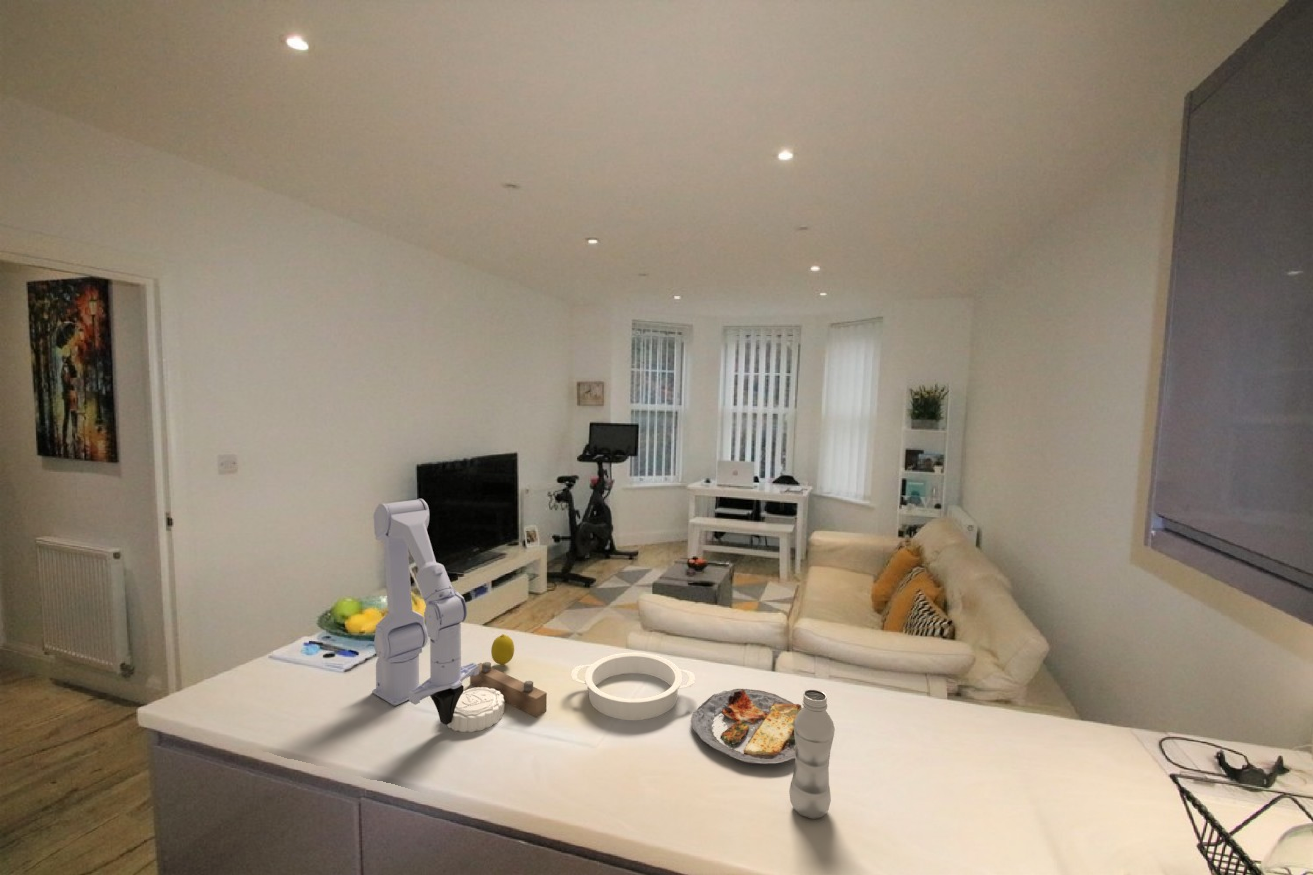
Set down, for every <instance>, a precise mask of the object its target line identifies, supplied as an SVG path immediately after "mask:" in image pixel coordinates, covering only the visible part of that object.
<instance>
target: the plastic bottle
mask: <svg viewBox="0 0 1313 875" xmlns="http://www.w3.org/2000/svg"><path fill="white" fill-rule="evenodd" d="M827 701H828V697H827V695H826V693H824V692H823V691H822V690H817V689H812V688H811V689H807V690H806V689H805V691H804V692H803V698H802V709H801V710H800V711H799V712H798V714H797V715H796V717H795V720H794V736H795V758H794V767H793V773H792V778H791V781H790V785H789V786H790V787H789V791H788V792H789V801H790V803H791V805H792V807H793V809H794V810H795V812H796V813H797V814H799V815H800V816H802V817H805V818H808V819H811V820H813V819H815V820H816V819H820V818H822V817H824V816H825V815H826V814H827V813H828V812H829V809H830V805H831V803H832V802H831V801H832V800H831V799H832V798H831V797H832V796H831V787H830V776H829V769H830V768H829V767H830V760H831V759H830V757H831V750H832V746H833V741H834V737H835V731H836V730H835V726H834V721H833V720H832V718H831V716H830V714H829V713H828V712H827V709H828V702H827Z"/></svg>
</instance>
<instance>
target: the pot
mask: <svg viewBox="0 0 1313 875" xmlns="http://www.w3.org/2000/svg"><path fill="white" fill-rule="evenodd" d="M583 668H587V669H586V671H585V674H584V680H585V681H584V680H581V679H579V678H578V672H579V671H580V670H581V669H583ZM682 673H685V674H686V675H687V676H688V681H687V682H686V684H684V685H682V682H683V674H682ZM624 674H642V675H647V676H653V677H655V678H658V679H661V680H662V681H664V682H666V683H667V684H668V685H669V686H670V687H669V688H667V690H665V691H664V692H661V693H659V694H657V695H652V696H649V697H642V698H641V697H640V698H627V697H619V696H615V695H612V694H608V693H606V692H604V691H602V689H599V688H598V687H597V685H598V684H599V683H601V682H602V681H604V680H607V679H608V678H612V677H615V676H619V675H624ZM570 678H571V680H572V681H575V682H577V683H579V684H583V685H584V684H585V685H587V690H588V698H589V702H590V703H591V705H592V707H593V708H595V709H596V711H597V712H599V713H601V714H603V715H605V716H607V717H610V718H613V719H614V718H615V719H618V720H626V721H641V720H649V719H652V718H656V717H659V716H662V715H665V713H667V712H669V711H670V710H671V709H672V708H673V707H674V706H675V704H676V702H677V701H678V700H677V699H678V690H679V689H685V688H689V687H692V685H693V684H695V681H696V677H695V674H694V673H693V672H692V671H689V670H686V669H682V668H681V669H680V668H679V667H678V666H677V665H676V664H675V663H674V662H672V661H671V660H669V659H667V658H665V657H662V656H659V655H656V654H651V653H647V652H646V653H645V652H621V653H615V654H611V655H608V656H604V657H602V658H600V659H598V660H596V661H595V662H593V663H592V664H582V665H577V666H576V667H574V668H573V669H572V671H571V673H570Z"/></svg>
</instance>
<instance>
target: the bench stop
mask: <svg viewBox="0 0 1313 875" xmlns="http://www.w3.org/2000/svg"><path fill="white" fill-rule="evenodd" d="M476 664H477V663H476ZM477 665H479V674H478V675H475V676H474V675H472V676H470V677H469V685H471V686H472V687H475V688H477V687H487V688H489V689H491V688H492V689H495V690H497V691H500V693H501V694H502V695H503V696H504V703H507V704H509V705H511V706H513V707H514V708H515V707H516V708H517V709H519V710H521V711H524V712H525V713H528V714H529V715H531V716H533V717H535V718H537V717H538V716H540V715H542V714H544V713H545V712H546V711H547V706H548V705H547V697H548V694H547V692H546V691H543V690H541V689H539V688H538V687H535V686H534V681H532V680H526V681H522V680H519V679H518V678H516V677H513V676H512V675H508V674H506V673H504V672H502V671H500V670H498V669H495V668H493V667H492V662H490V661H487V662H486V661H485V662H483V663H482V662H479V663H478V664H477Z"/></svg>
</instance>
